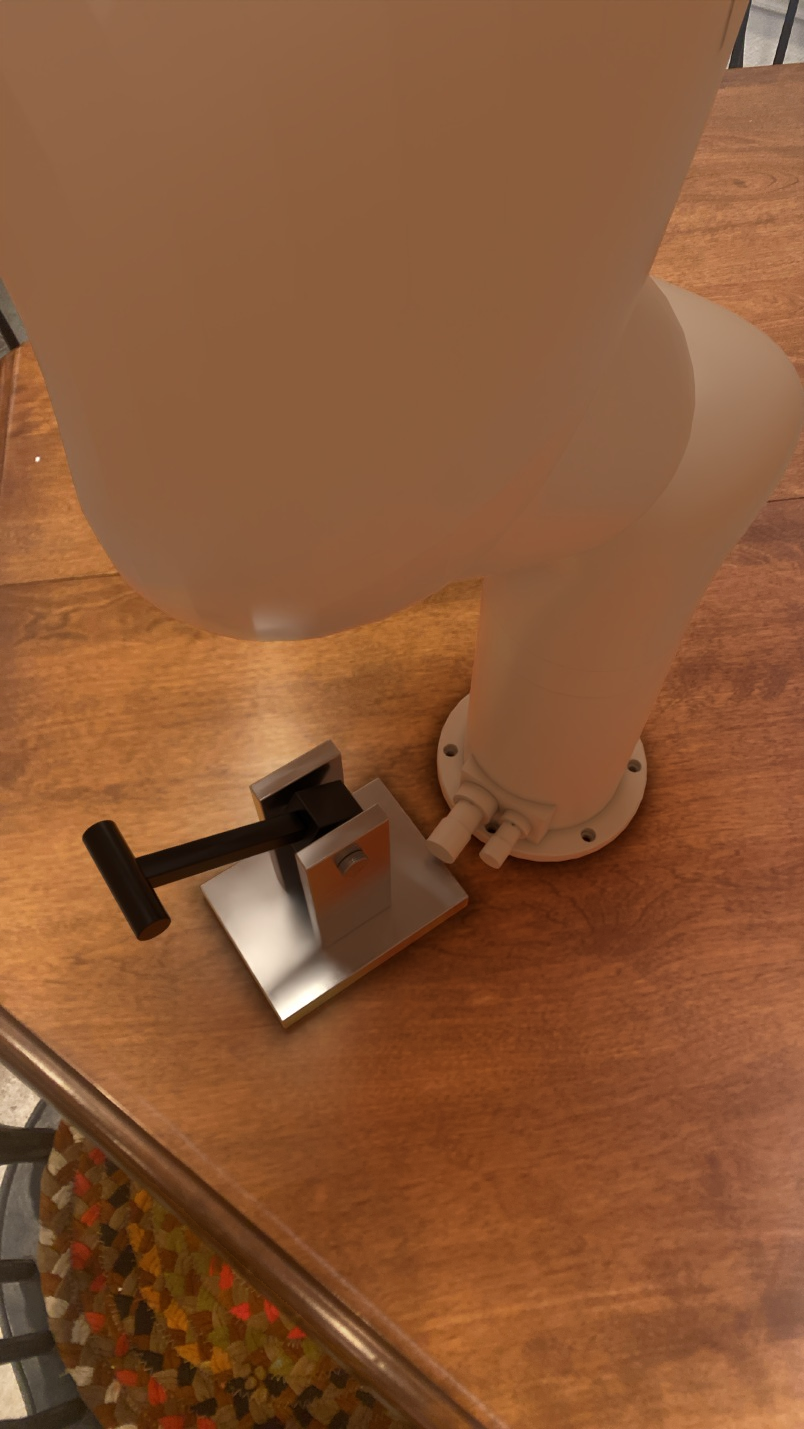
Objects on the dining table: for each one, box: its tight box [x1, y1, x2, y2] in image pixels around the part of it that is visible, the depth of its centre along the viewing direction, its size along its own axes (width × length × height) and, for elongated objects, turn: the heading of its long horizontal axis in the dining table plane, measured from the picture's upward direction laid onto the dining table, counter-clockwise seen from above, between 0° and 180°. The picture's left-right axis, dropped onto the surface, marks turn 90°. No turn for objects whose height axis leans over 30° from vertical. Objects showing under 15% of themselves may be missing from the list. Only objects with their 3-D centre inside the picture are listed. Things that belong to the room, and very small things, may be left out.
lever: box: [81, 780, 364, 942], centre depth 41 cm, size 12×5×2 cm, turn 125°
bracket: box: [198, 738, 470, 1029], centre depth 48 cm, size 12×9×13 cm
